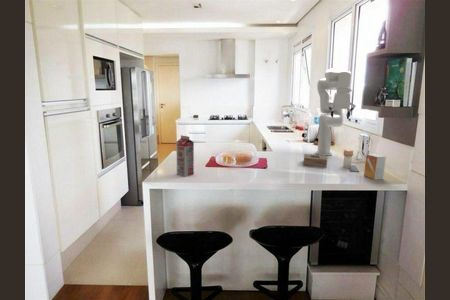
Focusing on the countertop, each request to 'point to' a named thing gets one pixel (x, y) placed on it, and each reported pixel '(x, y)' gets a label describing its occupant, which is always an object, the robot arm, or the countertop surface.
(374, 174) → the small box
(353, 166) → the mat
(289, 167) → the countertop surface
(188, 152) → the juice carton
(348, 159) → the plug
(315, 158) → the socket block
